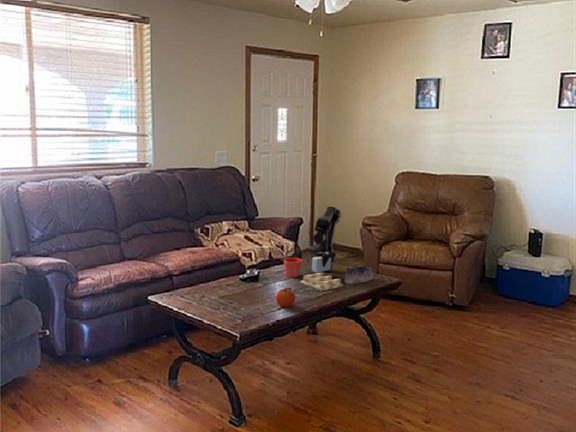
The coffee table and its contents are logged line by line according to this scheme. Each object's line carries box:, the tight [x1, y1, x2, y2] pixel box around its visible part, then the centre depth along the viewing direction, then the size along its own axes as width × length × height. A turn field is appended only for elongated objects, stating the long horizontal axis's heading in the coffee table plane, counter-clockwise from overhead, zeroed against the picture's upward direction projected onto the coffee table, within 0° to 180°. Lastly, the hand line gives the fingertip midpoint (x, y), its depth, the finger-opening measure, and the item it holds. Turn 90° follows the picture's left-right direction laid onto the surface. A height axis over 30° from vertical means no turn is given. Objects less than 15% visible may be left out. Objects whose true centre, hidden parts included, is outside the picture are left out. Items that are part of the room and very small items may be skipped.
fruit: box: [275, 287, 296, 308], centre depth 295 cm, size 10×10×10 cm
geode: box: [344, 265, 374, 285], centre depth 344 cm, size 20×12×10 cm, turn 139°
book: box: [311, 256, 332, 273], centre depth 349 cm, size 11×4×8 cm, turn 127°
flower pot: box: [283, 257, 303, 278], centre depth 349 cm, size 11×11×10 cm
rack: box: [300, 272, 344, 292], centre depth 335 cm, size 16×18×4 cm
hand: (321, 265), depth 350 cm, fingers closed on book, 4 cm apart
